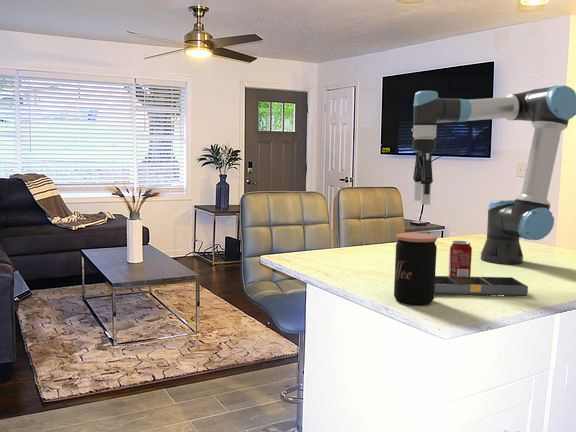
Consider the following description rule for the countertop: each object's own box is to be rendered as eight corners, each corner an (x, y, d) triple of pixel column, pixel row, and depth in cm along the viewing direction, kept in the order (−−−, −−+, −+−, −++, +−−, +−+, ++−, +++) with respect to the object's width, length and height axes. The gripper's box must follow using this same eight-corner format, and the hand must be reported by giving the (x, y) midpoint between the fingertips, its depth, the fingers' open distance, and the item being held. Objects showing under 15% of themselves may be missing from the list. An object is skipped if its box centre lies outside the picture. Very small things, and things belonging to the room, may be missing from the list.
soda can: (471, 281, 176) (473, 244, 174) (449, 280, 177) (451, 243, 176) (468, 277, 182) (470, 241, 181) (447, 275, 184) (449, 240, 182)
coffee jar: (389, 296, 156) (391, 232, 154) (426, 296, 157) (429, 233, 155) (400, 306, 145) (402, 238, 143) (439, 306, 146) (443, 238, 144)
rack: (511, 287, 169) (512, 276, 169) (527, 297, 158) (528, 286, 157) (413, 285, 170) (414, 274, 169) (422, 294, 158) (423, 283, 157)
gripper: (406, 139, 197) (404, 199, 199) (419, 137, 172) (417, 205, 174) (427, 139, 196) (425, 199, 199) (444, 137, 171) (441, 206, 174)
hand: (421, 202), depth 186 cm, fingers open, 13 cm apart
